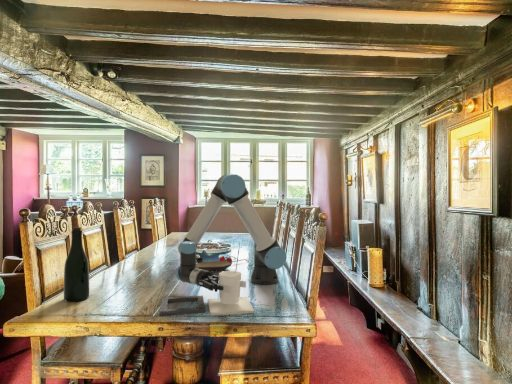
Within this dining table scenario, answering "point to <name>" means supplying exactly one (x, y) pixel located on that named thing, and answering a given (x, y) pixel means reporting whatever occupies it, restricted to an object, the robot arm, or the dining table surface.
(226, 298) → the candle holder
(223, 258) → the glasses
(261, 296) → the dining table surface
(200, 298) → the dark grey square frame
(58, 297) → the dining table surface
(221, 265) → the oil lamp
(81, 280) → the dark wine bottle
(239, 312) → the cream tile
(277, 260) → the robot arm
